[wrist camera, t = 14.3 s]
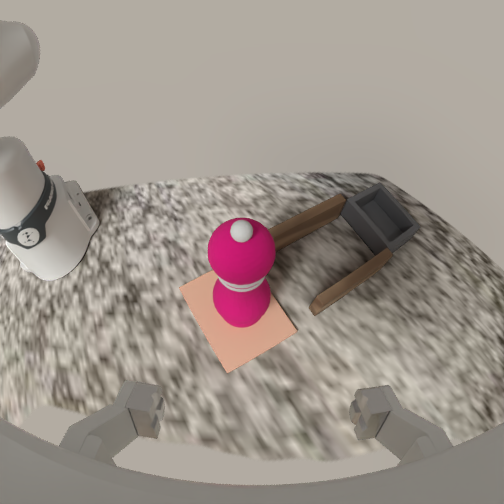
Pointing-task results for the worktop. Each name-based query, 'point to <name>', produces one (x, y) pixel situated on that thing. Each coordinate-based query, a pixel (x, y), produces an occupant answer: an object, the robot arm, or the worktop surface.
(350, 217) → the box
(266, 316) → the terracotta board
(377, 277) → the worktop surface
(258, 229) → the pepper mill
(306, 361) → the worktop surface
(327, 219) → the walnut channel
